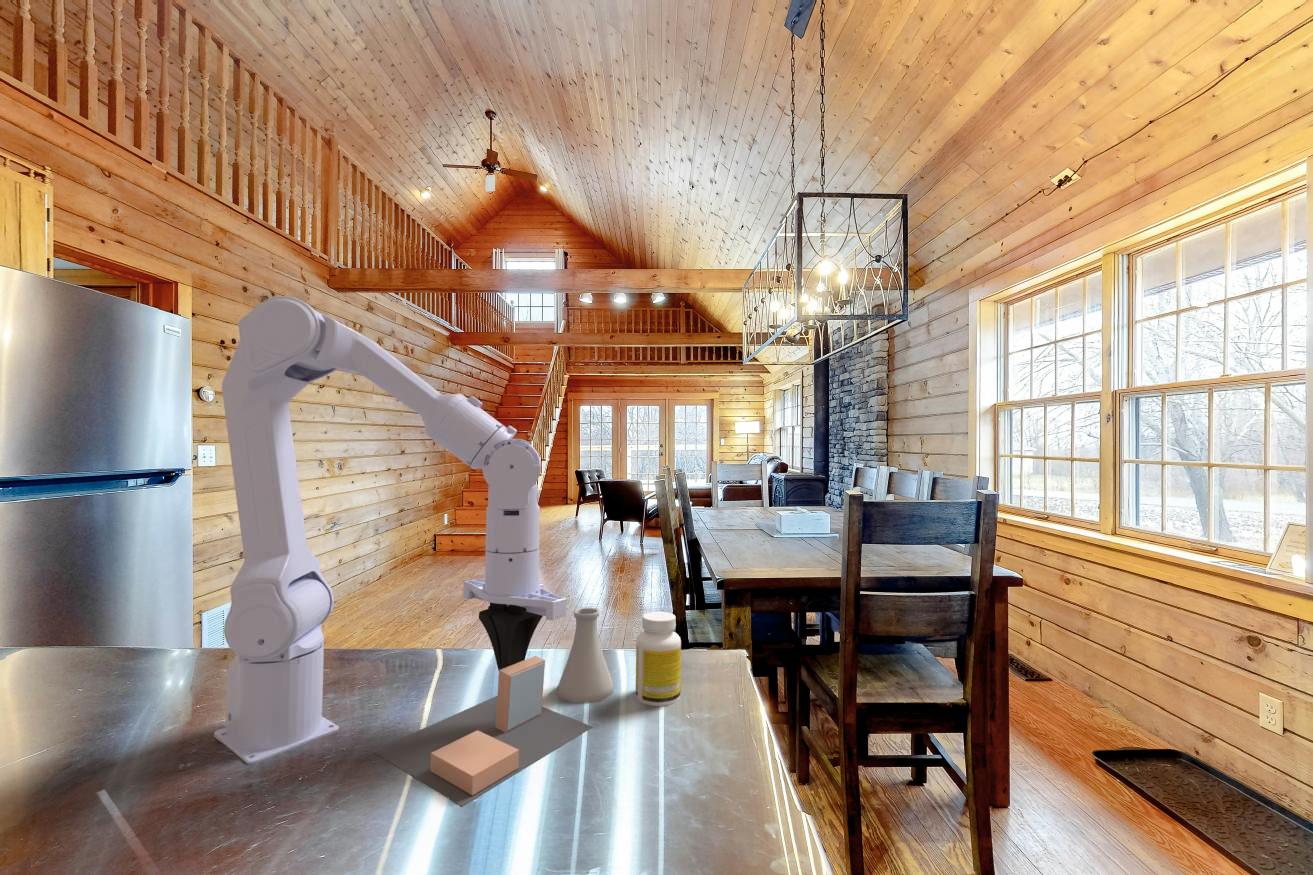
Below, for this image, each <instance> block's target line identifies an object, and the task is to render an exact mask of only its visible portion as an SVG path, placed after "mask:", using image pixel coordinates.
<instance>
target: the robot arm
mask: <svg viewBox="0 0 1313 875" xmlns="http://www.w3.org/2000/svg"><path fill="white" fill-rule="evenodd" d="M237 323H238V324H237V325H238V330H239V331H238V332H239V341H238V343H237V346H236V349H235V350H234V353H233V355H232V357H231V360H230V363H229V364H228V367H227V370H226V372H225V374H224V377H223V380H222V383H221V385H222V386H221V392H222V400H223V408H224V415H225V423H226V430H227V431H226V432H227V438H228V444H229V453H230V461H231V468H232V475H233V476H232V477H233V482H234V491H235V498H236V505H237V512H238V520H239V528H240V536H241V541H242V542H241V543H242V550H243V551H242V552H243V560H244V562H243V563H242V565H241V567H240V569H239V570H238V572H237V574H236V576H235V578H234V580H233V582H232V583H231V585H230V588H229V590H230V598H231V599H230V600H231V601H230V608H229V611H228V613H227V615H226V617H225V621H224V626H223V634H224V638H225V641H226V644H227V645H228V647H229V648H230V649H231V650H232V652H234V653H235V654H236V655H235V657H233V659H232V661H231V663H229V666H228V670H227V674H226V675H227V676H226V705H225V706H226V707H225V709H226V711H225V727H223V728H219V729H216V730H215V731H214V732H213V737H214V738H215V739H217V741H219V742H220V743H222V744H224V745H225V746H226V747H227V748H229V749H230V750H231V751H232V752H233V753H234V754H235V755H237V756H238V757H239V758H240V759H242V761H244V762H245V763H246V764H247V765H253V764H256V763H260V762H263V761H264V760H267V759H269V758H272V757H274V756H277V755H280V754H283V753H284V752H288V751H289V750H292V749H294V748H298V747H300V746H302V745H305V744H308V743H310V742H313V741H315V740H318V739H320V738H323V737H325V736H328V735H330V734H333V733H335V732H338V731H339V730H340V726H339V725H337V724H336V723H334V722H332V721H331V720H329V719H327V718H325V717H324V716H323V697H324V694H323V692H324V691H323V690H324V688H323V687H324V652H325V650H324V649H325V642H324V641H325V636H324V634H323V631H322V625H323V624H324V623H325V622H326V621H327V620H328V619H329V617H330V615H331V614H332V611H333V609H334V605H335V596H334V592H333V590H332V588H331V586H330V584H329V583H328V582H327V580H325V578H324V576H323V574H322V569H321V564H320V563H321V562H320V560H319V559H318V558H317V557H316V556H315V554H313V552H312V551H311V550H310V548H309V547H308V544H307V543H308V542H307V535H306V529H305V527H306V526H305V520H304V512H303V504H302V496H301V488H300V482H299V475H298V467H297V460H296V452H295V450H296V449H295V444H294V436H293V431H292V430H293V428H292V424H291V423H292V422H291V414H290V407H289V403H290V402H291V400H293V399H294V397H296V396H297V395H298V394H299V393H300V392H301V391H302V390H304V388H306V387H307V386H308V385H309V384H311V383H313V382H315V381H317V380H320V379H322V378H324V377H326V376H328V375H329V374H332V373H334V372H336V371H342V372H345V373H347V374H352V375H353V374H355V375H361V376H363V377H365V379H367V380H369V381H370V382H372V383H373V384H374V385H376V387H377V386H378V387H379V388H380V389H382V390H384V391H385V393H387V394H389V395H390V396H392V397H394V398H395V399H396V400H398V401H399V402H401V403H402V404H403V405H405V406H406V407H408V408H409V409H411V410H412V411H414V412H415V413H417V414H418V415H420V416H421V417H422V420H423V424H424V430H425V435H426V436H427V437H429V438H430V439H431V440H433V441H434V442H436V443H437V444H438V445H440V446H441V447H442V448H444V449H445V450H446V451H448V452H449V453H450V454H451V455H453V456H454V457H456V458H457V459H459V460H460V461H461V462H463V463H464V464H465V465H467V466H468V467H470V468H471V469H473V470H477V469H478V470H479V469H480V470H482V475H483V479H484V480H485V481H486V484H487V485H488V495H487V497H488V498H487V502H488V503H487V504H488V505H487V507H486V508H485V511H486V512H485V513H486V514H485V515H486V516H485V517H486V518H485V520H486V523H485V561H484V566H485V567H484V578H483V579H482V578H474V579H469V580H464V581H463V589H462V592H463V594H462V596H463V599H465V600H466V599H467V600H471V599H476V600H479V601H483V602H484V601H485V602H488V603H489V605H488V607H487V609H483V610H481V611H479V612H478V619H479V621H480V622H481V624H482V625H483V627H484V629H485V631H486V633H487V636H488V638H489V641H490V643H491V647H492V650H493V653H494V657H495V661H496V662H495V663H496V666H497V671H498V672H499V670H501V669H503V668H506V667H508V666H511V665H513V664H516V663H518V662H521V661H523V660H526V656H527V652H528V649H529V647H530V642H531V640H532V638H533V635H534V633H535V631H536V629H537V627H538V625H539V623H540V622H541V621H542V618H543V617H545V619H546V620H547V621H552V622H553V621H556V620H560V619H562V618H565V617H566V616H567V598H566V597H565V596H560V595H557V594H555V593H553V592H551V591H550V590H547V589H545V587H544V585H545V584H544V583H543V582H540V580H539V578H540V524H541V523H540V521H541V519H540V517H541V515H540V512H541V508H540V505H539V504H538V502H539V499H540V491H539V487H538V484H537V482H538V481H539V477H540V475H541V472H542V461H541V457H540V454H539V452H538V451H537V450H536V448H535V447H533V445H532V444H531V443H530V442H529V441H527V440H525V439H521V438H514V437H515V435H516V434H517V433H518V432H517V431H518V430H517V429H516V428H514V426H512V425H508V426H507V427H506V426H505V425H504V424H503V423H501V422H499V421H498V420H497V419H496V418H494V417H493V416H492V415H491V414H489V413H488V412H486V411H485V410H484V409H482V408H481V407H482V406H483V402H482V401H480V400H479V399H478V398H477V397H475V396H473V395H471V396H469V398H468V397H466V396H465V395H463V394H462V393H451V394H442V393H441V392H439V391H438V390H437V389H435V388H434V387H433V386H432V385H431V384H429V383H428V382H426V380H424V379H422V378H421V377H420V376H419V375H418V374H416V373H415V372H414V371H412V370H411V369H410V368H409V367H407V365H405V364H403V363H402V362H401V361H400V360H398V359H397V358H396V357H395V356H393V355H392V354H391V353H390V352H389V351H388V350H386V349H384V348H383V347H382V346H381V345H379V344H378V343H377V342H376V341H374V340H372V339H370V338H369V337H366V336H365V335H363V334H362V333H360V332H358V331H356V330H354V329H353V328H350V327H348V326H347V325H345V324H343V323H342V322H339V321H337V320H336V319H334V318H332V317H330V316H328V315H326V314H324V313H320V312H319V311H317V310H315V308H313V307H312V306H310V305H309V304H308V303H306V302H304V301H303V300H301V299H299V298H298V297H297V298H296V297H294V296H293V297H292V296H286V295H281V296H280V295H279V296H272V297H270V298H267V299H265V300H263V301H262V302H260V303H259V304H257V305H256V306H255V307H254V308H253V309H251V310H250V311H249V312H248V313H247V314H245V315H244V316H243V317H242V318H241V319H239V320H238V322H237Z"/></svg>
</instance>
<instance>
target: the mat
mask: <svg viewBox="0 0 1313 875" xmlns="http://www.w3.org/2000/svg"><path fill="white" fill-rule="evenodd" d="M496 707H497V695H495V696H493V697H491V698H489V699H487V700H484V701H482V702H479V703H478V704H475V705H473V706H470V707H469V708H467V709H465V710H462V711H460V712H457V713H455V714H453V715H451V716H450V715H449V716H448V717H447V718H443V719H442V720H440V721H437V722H435V723H433V724H430V725H428V726H426V727H423V728H421V729H419V730H417V731H415V732H412V733H410V734H408V735H406V736H404V737H401V738H398V739H396V740H394V741H392V742H390V743H388V744H385V745H382V746H381V747H379V748H376V749H373V750H372V753H374V754H376V755H377V756H379V757H380V758H382V759H384V760H385V761H386V762H389V763H391V765H393V766H395V767H397V768H398V769H400V770H402V771H403V772H405V773H407V774H408V775H410V776H412V778H415V779H417V780H418V781H419V782H421V783H422V784H425V785H426V786H427V787H429V788H431V789H432V790H434V791H436V792H437V793H439V794H440V795H442V796H444V797H446V798H448V799H449V800H451V802H454V803H456V804H457V805H459V806H460V807H464V806H466V805H467V804H470V803H471V802H472V801H475V800H476V799H478V798H479V797H481V796H483V794H486V793H487V792H489V791H490V790H491V791H492V789H494V788H496V787H497V786H499V785H500V784H503V782H505V781H507V780H509V779H510V778H512V777H514V776H515V775H517V774H519V773H520V772H522V771H524V770H526V768H528V767H530V766H531V765H533V764H534V763H536V762H539V761H540V760H542V759H543V758H545V757H547V756H548V755H549V754H551V753H553V752H554V751H556V750H558V749H560V748H561V747H563V746H565V745H566V744H567V743H569V742H571V741H573V740H574V739H576V738H577V737H579V736H581V735H583V734H584V733H586V732H588V731H589V730H591V729H593V728H594V727H593V726H592V725H590V724H587V723H585V722H583V721H580V720H578V719H575V718H572V717H569V716H566V715H564V714H562V713H559V712H557V711H554V710H551V709H550V708H549V709H548V708H547V707H544V706H542V713H541V714H540V715H538V716H537V717H535V718H533V719H531V720H529V721H527V722H525V723H523V724H521V725H519V726H517V727H515V728H513V729H512V730H510V731H508V732H506V733H505V732H503V731H501V730H500V729H498V728H496V727H495V722H496ZM477 730H478V731H480V732H482V733H484V734H486V735H489V736H491V737H493V738H495V739H497V740H499V741H501V742H503V743H506V744H508V745H510V746H512V747H514V748H516V749H518V750H519V768H517V769H516V770H514V771H512V772H511V773H509V774H507V775H506V776H504V777H502V778H501V779H499V780H497V781H496V782H494V783H492V784H491V785H489V786H487V787H486V788H484V789H482V790H481V791H479V792H477V793H476V794H474V795H471V794H469V793H467V792H466V791H464V790H462V789H460V788H459V787H457V786H455V785H454V784H452V783H450V782H448V781H447V780H445V779H443V778H442V777H440V776H438V775H436V774H435V773H433V772H431V753H432V752H434V751H436V750H438V749H440V748H442V747H444V746H446V745H448V744H450V743H452V742H454V741H456V740H459V739H461V738H463V737H465V736H467V735H469V734H471V733H473V732H475V731H477Z"/></svg>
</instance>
